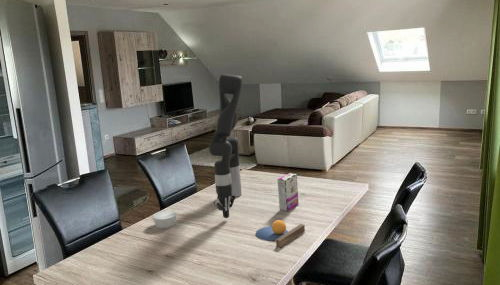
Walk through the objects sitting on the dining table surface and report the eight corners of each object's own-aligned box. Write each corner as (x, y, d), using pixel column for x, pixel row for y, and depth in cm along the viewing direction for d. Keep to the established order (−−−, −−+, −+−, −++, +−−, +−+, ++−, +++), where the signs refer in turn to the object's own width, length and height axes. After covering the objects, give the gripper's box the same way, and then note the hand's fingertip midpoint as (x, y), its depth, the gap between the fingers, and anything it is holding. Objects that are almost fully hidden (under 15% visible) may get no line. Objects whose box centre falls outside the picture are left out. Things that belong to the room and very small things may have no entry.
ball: (283, 235, 164) (272, 237, 168) (290, 230, 169) (279, 232, 172) (278, 222, 164) (267, 223, 168) (285, 217, 169) (274, 219, 172)
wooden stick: (276, 246, 157) (275, 239, 157) (300, 230, 171) (300, 223, 170) (280, 247, 156) (280, 240, 155) (304, 231, 169) (304, 224, 169)
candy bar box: (290, 203, 204) (289, 172, 201) (298, 204, 201) (297, 173, 198) (278, 210, 195) (277, 178, 192) (287, 212, 192) (285, 179, 189)
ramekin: (172, 230, 180) (170, 219, 179) (149, 229, 183) (148, 219, 182) (181, 220, 191) (180, 210, 190) (159, 220, 193) (158, 210, 192)
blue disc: (249, 235, 169) (249, 235, 169) (268, 224, 179) (268, 223, 179) (275, 243, 160) (275, 243, 160) (294, 231, 170) (294, 230, 170)
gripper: (227, 177, 190) (230, 211, 194) (207, 185, 181) (210, 220, 184) (238, 180, 186) (241, 214, 189) (219, 187, 176) (222, 224, 179)
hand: (226, 217), depth 187 cm, fingers closed
